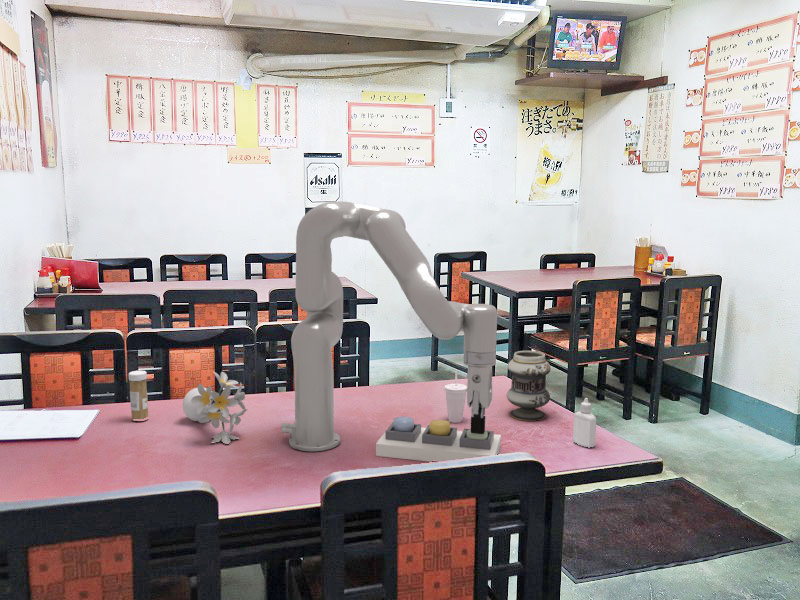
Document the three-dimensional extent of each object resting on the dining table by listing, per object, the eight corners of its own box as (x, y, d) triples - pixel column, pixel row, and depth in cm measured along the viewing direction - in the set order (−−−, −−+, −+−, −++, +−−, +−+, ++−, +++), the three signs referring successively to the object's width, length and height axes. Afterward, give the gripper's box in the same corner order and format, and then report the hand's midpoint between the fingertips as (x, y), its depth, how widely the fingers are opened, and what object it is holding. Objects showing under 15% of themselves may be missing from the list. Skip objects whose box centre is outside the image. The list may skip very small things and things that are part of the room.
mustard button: (427, 435, 158) (427, 425, 157) (431, 428, 162) (431, 419, 162) (448, 437, 156) (448, 427, 156) (451, 430, 161) (452, 420, 161)
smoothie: (466, 417, 185) (468, 368, 183) (466, 425, 179) (468, 374, 177) (444, 416, 186) (444, 367, 184) (443, 424, 179) (444, 373, 177)
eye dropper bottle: (579, 449, 162) (581, 401, 161) (571, 440, 168) (573, 395, 166) (596, 448, 163) (599, 401, 161) (587, 440, 168) (590, 394, 166)
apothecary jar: (519, 406, 196) (521, 346, 193) (556, 414, 188) (559, 352, 185) (497, 416, 186) (500, 353, 184) (536, 425, 179) (539, 360, 176)
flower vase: (186, 446, 179) (215, 452, 159) (165, 382, 179) (191, 379, 158) (230, 428, 187) (263, 432, 166) (211, 366, 186) (242, 362, 165)
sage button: (464, 444, 156) (465, 435, 155) (467, 437, 161) (468, 428, 160) (486, 446, 155) (486, 437, 154) (488, 439, 159) (488, 429, 159)
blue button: (391, 431, 160) (391, 422, 159) (396, 425, 165) (396, 415, 164) (411, 433, 159) (411, 424, 158) (415, 426, 163) (415, 417, 163)
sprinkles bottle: (151, 420, 180) (149, 372, 178) (135, 424, 177) (132, 375, 175) (144, 416, 183) (142, 369, 181) (128, 419, 180) (125, 371, 178)
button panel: (375, 455, 157) (375, 435, 156) (391, 435, 170) (391, 416, 170) (494, 468, 150) (494, 447, 149) (500, 446, 163) (501, 427, 163)
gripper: (492, 366, 146) (489, 445, 149) (499, 351, 161) (496, 423, 163) (458, 363, 148) (456, 442, 151) (468, 349, 162) (466, 420, 165)
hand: (477, 432), depth 157 cm, fingers closed
